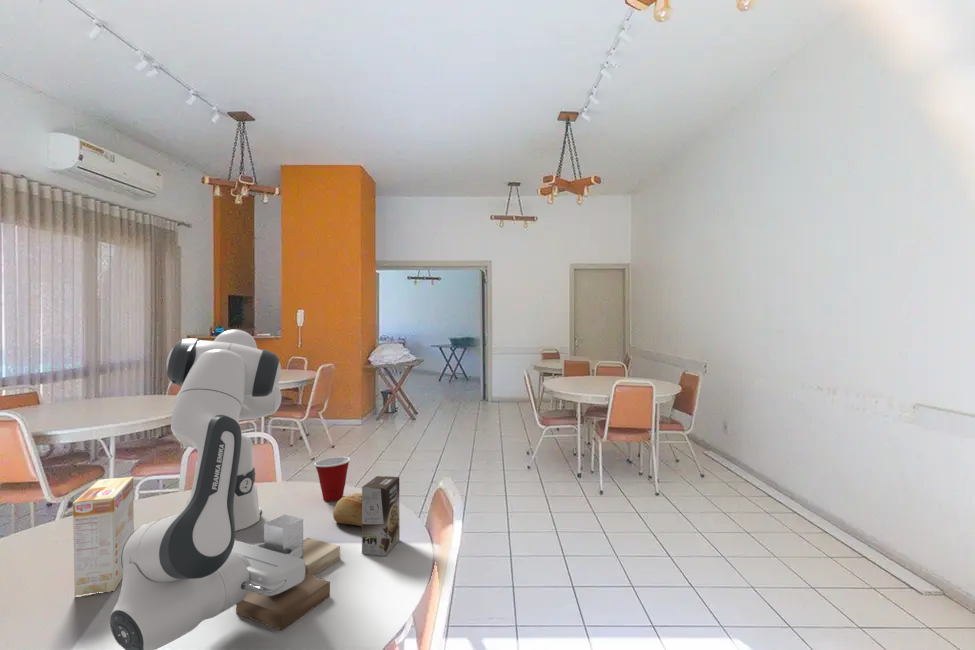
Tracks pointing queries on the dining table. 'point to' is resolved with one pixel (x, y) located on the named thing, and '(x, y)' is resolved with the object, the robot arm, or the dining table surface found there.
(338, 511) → the bread roll
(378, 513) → the coffee box
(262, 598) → the walnut stand
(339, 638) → the dining table surface
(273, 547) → the grey tall rectangular block
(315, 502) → the dining table surface
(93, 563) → the coffeecake box
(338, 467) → the plastic cup
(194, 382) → the robot arm
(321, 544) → the birch stand
